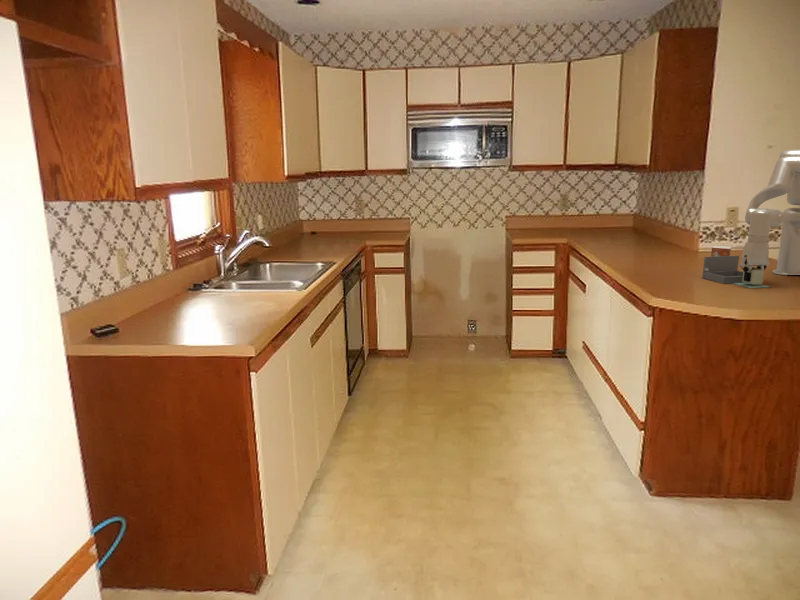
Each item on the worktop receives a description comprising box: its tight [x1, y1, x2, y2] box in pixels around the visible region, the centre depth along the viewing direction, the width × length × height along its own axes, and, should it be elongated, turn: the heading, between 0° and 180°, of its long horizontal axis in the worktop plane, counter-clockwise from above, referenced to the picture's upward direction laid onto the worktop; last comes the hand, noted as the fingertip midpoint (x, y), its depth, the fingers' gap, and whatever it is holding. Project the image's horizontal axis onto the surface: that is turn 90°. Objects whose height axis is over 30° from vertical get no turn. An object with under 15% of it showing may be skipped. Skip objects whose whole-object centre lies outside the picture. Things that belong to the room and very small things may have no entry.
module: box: [742, 266, 765, 285], centre depth 261 cm, size 5×6×6 cm
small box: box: [710, 245, 732, 257], centre depth 288 cm, size 8×6×13 cm
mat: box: [732, 283, 771, 289], centre depth 262 cm, size 10×10×1 cm
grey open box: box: [701, 254, 745, 285], centre depth 273 cm, size 18×15×10 cm
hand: (752, 280), depth 261 cm, fingers closed on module, 4 cm apart
